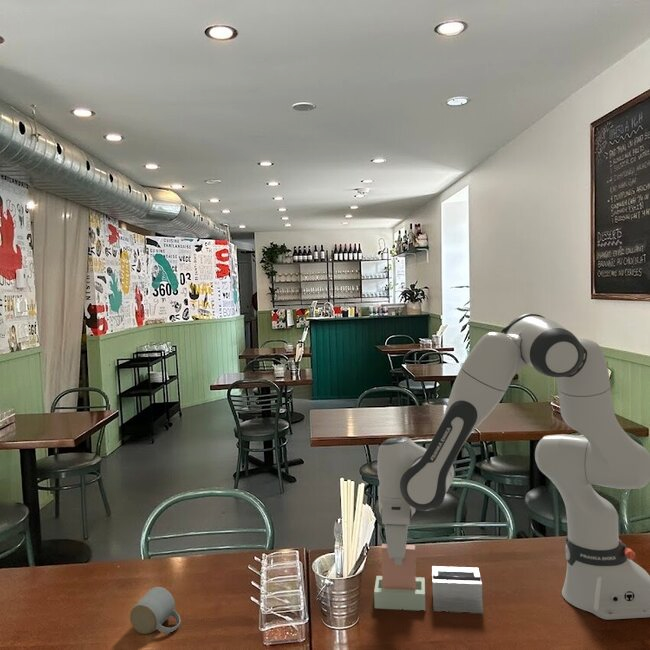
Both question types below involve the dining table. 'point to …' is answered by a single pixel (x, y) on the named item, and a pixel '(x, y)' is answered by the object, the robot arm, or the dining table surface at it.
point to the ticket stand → (400, 596)
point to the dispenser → (457, 589)
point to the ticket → (399, 570)
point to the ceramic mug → (154, 612)
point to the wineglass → (338, 527)
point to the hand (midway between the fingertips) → (398, 560)
